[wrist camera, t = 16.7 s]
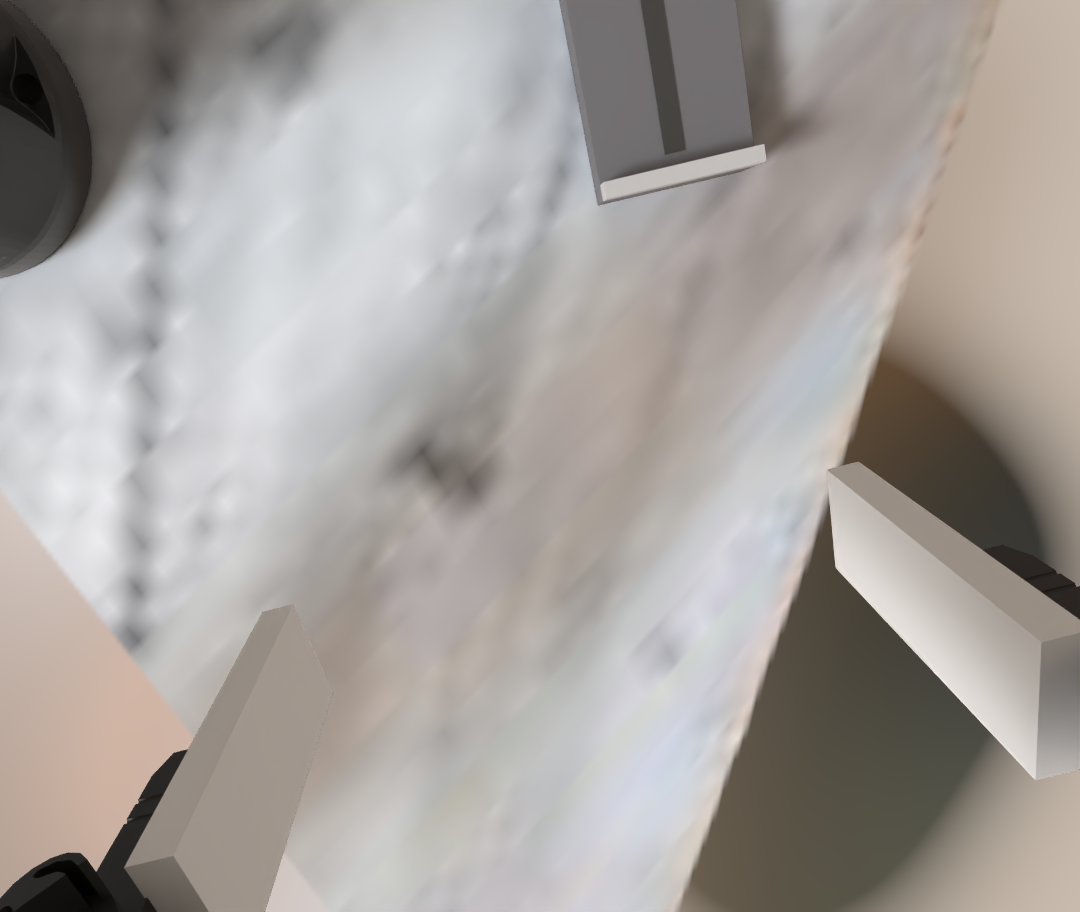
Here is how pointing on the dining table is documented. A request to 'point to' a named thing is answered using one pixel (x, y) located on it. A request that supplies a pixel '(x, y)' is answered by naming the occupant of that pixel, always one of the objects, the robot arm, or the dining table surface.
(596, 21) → the fader console
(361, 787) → the dining table surface
